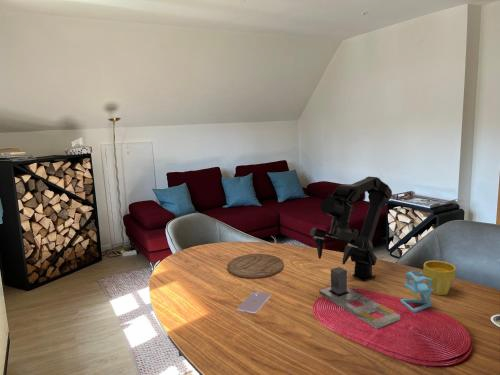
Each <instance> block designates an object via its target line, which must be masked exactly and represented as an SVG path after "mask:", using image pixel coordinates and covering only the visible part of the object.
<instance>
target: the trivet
mask: <svg viewBox="0 0 500 375" xmlns="http://www.w3.org/2000/svg"><path fill="white" fill-rule="evenodd" d="M284 267H285V266H284V261H283V259H282V258H280V257H278V256H276V255H273V254H268V253H250V254H243V255H239V256H236V257H234V258H232V259H231V260H229V261H228V262H227V272H228V273H229V274H230V275H232V276H233V277H236V278H239V279H245V280H259V279H266V278H271V277H274V276H276V275H278V274H280V273H281V272H282V271H283V270H284Z"/></svg>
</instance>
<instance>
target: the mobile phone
mask: <svg viewBox="0 0 500 375" xmlns="http://www.w3.org/2000/svg"><path fill="white" fill-rule="evenodd" d="M271 296H272V295H271V293H268V292H262V291H258V290H257V291H256V290H254V291H252V292H251V293H250V294H249V295H248V296H247V297H246V298H245V299H244V301H242V302H241V304H239V306H237V308H236V310H237V312H242V313H243V312H244V313H248V314H257V313H258V312H259V311H260V310H261V308H263V306H264V305H265V303H266V302H268V300H269V299H270V297H271Z"/></svg>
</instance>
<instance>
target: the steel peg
mask: <svg viewBox="0 0 500 375" xmlns="http://www.w3.org/2000/svg"><path fill="white" fill-rule="evenodd" d="M330 287H331V293H332V294H334V295H336V296H337V297H339V296H342V295H345V294H347V287H348V270H346V269H345V268H342V267H340V266H338V267H335V268H331V269H330Z"/></svg>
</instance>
